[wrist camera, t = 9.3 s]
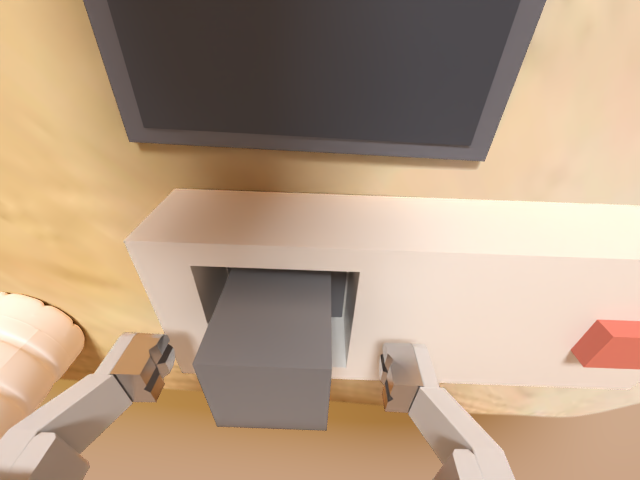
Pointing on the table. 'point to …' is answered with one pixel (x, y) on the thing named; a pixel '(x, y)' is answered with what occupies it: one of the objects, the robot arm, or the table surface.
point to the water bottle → (32, 354)
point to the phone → (315, 72)
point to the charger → (269, 350)
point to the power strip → (417, 279)
